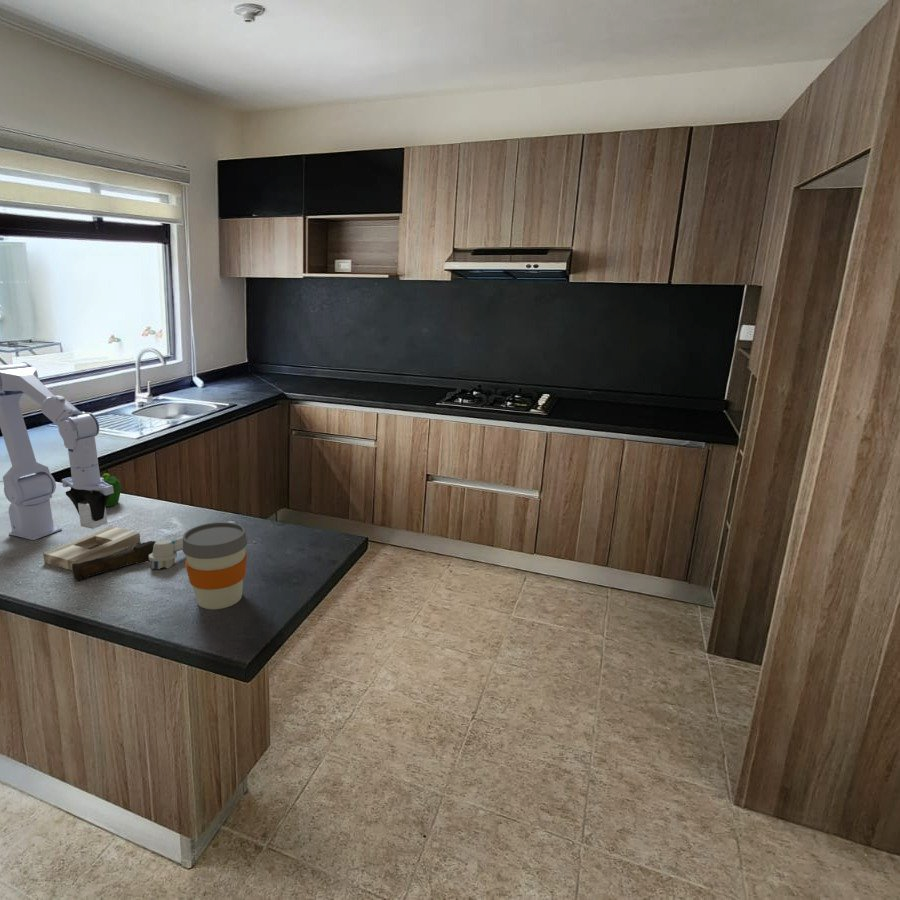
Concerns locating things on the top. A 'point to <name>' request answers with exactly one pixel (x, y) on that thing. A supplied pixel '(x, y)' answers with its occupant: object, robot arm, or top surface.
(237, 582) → the reusable coffee cup
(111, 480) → the bell pepper
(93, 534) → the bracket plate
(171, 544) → the white elongated piece
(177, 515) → the top surface
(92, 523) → the pale grey block
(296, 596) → the top surface
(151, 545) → the dark brown wood piece
